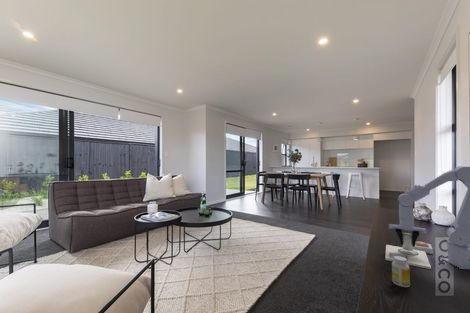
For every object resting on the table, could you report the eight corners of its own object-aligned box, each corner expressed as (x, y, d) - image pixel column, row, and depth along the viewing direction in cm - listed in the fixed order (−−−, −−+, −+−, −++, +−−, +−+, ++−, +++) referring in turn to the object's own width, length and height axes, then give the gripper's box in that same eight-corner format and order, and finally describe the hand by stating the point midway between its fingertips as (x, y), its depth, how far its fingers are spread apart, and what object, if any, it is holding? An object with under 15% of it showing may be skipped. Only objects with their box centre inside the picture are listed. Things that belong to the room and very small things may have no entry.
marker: (415, 251, 104) (414, 235, 104) (406, 250, 104) (405, 235, 105) (409, 247, 108) (408, 232, 108) (400, 247, 109) (399, 232, 109)
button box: (432, 254, 106) (432, 249, 106) (412, 250, 111) (411, 245, 111) (430, 248, 112) (430, 244, 112) (411, 245, 117) (410, 241, 117)
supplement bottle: (391, 283, 80) (390, 258, 81) (393, 278, 84) (392, 253, 85) (409, 289, 77) (408, 262, 77) (410, 283, 81) (409, 257, 81)
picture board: (431, 269, 91) (430, 266, 91) (385, 259, 100) (385, 257, 100) (425, 253, 107) (425, 251, 107) (386, 246, 116) (386, 244, 116)
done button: (427, 247, 108) (427, 245, 108) (415, 245, 111) (415, 243, 111) (426, 244, 112) (426, 242, 112) (415, 242, 115) (415, 240, 115)
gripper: (424, 218, 106) (425, 245, 105) (388, 214, 114) (389, 239, 114) (426, 221, 100) (427, 250, 100) (388, 217, 109) (389, 243, 108)
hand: (407, 245), depth 106 cm, fingers closed on marker, 4 cm apart
